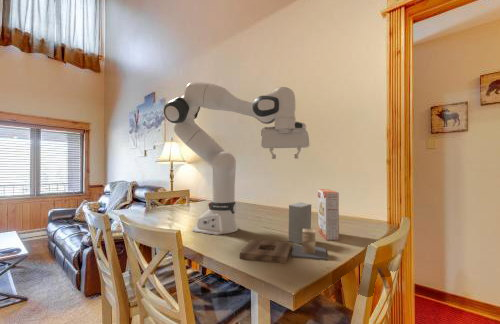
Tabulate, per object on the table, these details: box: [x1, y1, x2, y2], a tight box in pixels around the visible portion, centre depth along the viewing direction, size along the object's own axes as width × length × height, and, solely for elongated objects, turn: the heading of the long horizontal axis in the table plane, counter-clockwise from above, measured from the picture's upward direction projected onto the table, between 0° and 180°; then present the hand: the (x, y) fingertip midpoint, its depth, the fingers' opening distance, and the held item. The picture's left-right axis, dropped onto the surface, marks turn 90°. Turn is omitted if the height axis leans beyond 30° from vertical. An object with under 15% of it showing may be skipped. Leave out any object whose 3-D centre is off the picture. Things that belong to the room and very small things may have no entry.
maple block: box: [301, 228, 316, 254], centre depth 91 cm, size 4×4×8 cm
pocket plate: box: [239, 239, 292, 264], centre depth 91 cm, size 16×16×2 cm
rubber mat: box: [291, 244, 328, 261], centre depth 91 cm, size 12×12×1 cm
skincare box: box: [287, 202, 312, 245], centre depth 106 cm, size 8×7×16 cm
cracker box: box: [317, 188, 340, 241], centre depth 114 cm, size 14×6×21 cm, turn 178°
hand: (285, 158), depth 105 cm, fingers open, 8 cm apart
